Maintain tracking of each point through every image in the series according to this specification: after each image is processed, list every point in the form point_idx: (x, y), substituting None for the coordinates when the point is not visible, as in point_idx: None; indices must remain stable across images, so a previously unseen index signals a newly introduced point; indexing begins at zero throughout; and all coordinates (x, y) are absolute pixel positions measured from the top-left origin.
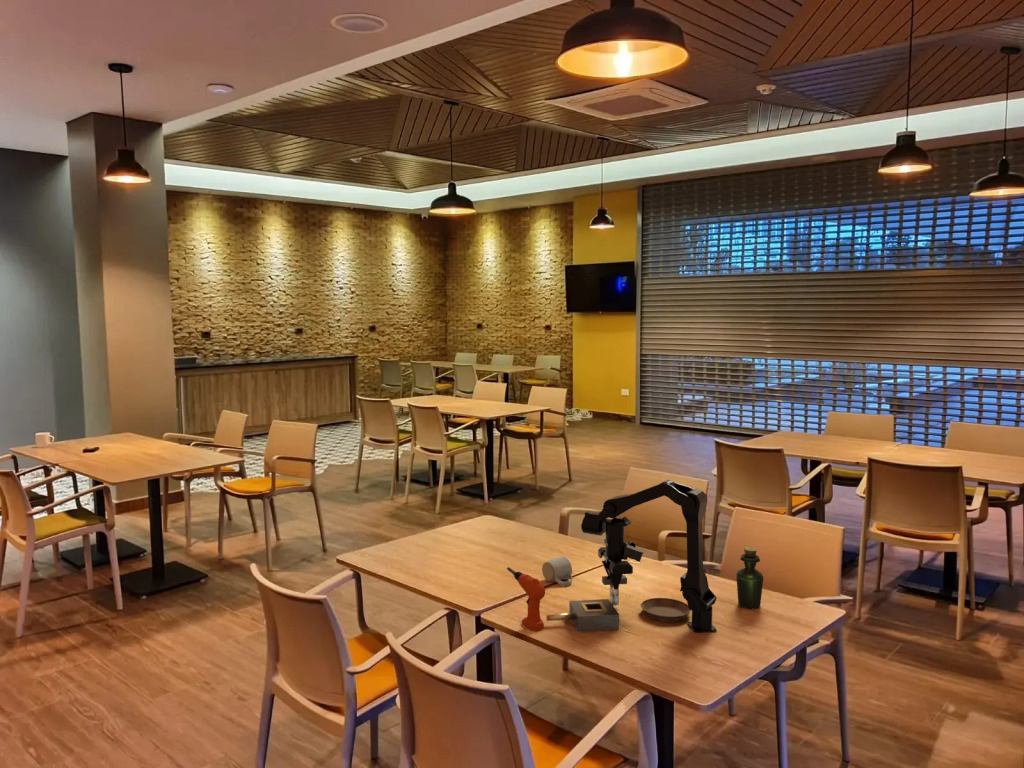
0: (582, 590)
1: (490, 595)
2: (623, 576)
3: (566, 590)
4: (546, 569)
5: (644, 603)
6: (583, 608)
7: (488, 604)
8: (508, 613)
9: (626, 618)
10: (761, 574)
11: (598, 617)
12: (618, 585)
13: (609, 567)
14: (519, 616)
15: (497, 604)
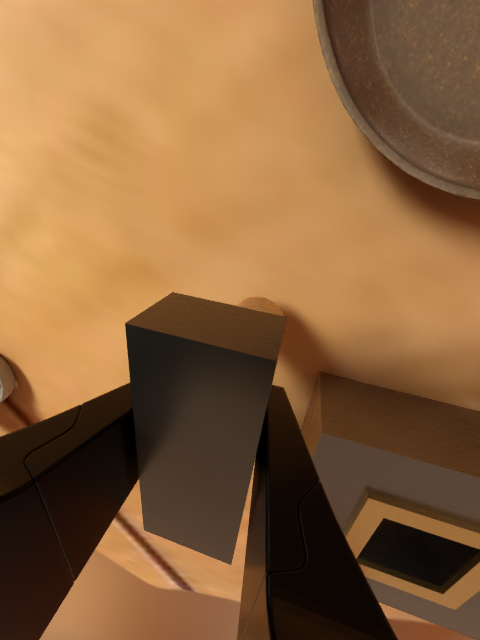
0: (49, 342)
1: (100, 540)
2: (180, 368)
3: (55, 390)
4: None
5: (362, 109)
6: (399, 585)
7: (152, 567)
8: (214, 572)
9: (434, 322)
10: None
11: None
12: (294, 419)
13: (31, 603)
14: (240, 569)
15: (154, 557)
